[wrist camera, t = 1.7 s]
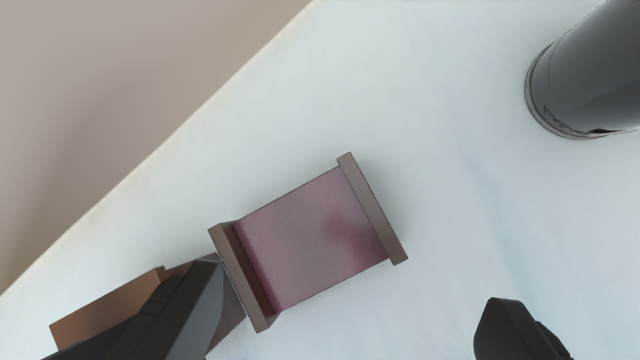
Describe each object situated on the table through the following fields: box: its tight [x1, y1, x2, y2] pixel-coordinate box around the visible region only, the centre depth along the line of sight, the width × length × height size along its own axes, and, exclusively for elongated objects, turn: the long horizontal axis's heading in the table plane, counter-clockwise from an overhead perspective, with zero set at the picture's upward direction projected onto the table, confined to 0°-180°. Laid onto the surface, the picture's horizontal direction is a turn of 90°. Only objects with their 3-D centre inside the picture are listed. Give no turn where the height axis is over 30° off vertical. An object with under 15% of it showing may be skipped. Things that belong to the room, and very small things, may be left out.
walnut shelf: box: [49, 252, 246, 360], centre depth 30 cm, size 10×8×10 cm
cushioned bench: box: [208, 152, 408, 333], centre depth 29 cm, size 13×9×8 cm
